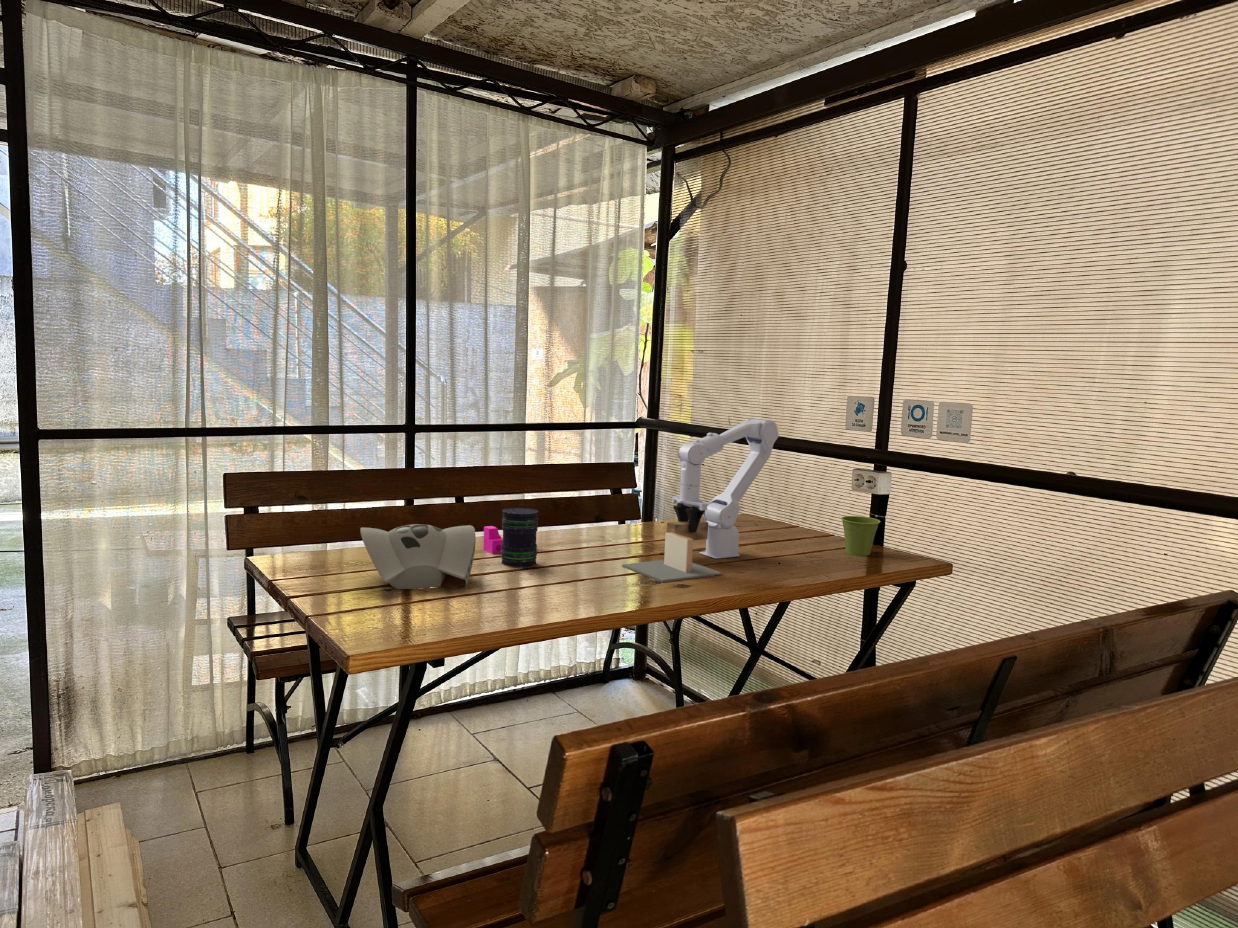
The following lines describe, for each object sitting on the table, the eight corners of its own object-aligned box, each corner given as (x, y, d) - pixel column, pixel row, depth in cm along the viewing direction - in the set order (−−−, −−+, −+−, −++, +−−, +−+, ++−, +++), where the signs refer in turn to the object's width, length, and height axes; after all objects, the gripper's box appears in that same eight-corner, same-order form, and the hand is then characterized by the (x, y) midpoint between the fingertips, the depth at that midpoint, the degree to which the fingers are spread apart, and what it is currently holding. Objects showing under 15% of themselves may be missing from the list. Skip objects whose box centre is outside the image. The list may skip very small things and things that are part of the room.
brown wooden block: (699, 536, 256) (700, 520, 256) (707, 539, 253) (708, 522, 252) (666, 539, 250) (667, 522, 249) (674, 542, 247) (675, 524, 246)
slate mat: (680, 560, 250) (680, 558, 250) (721, 574, 234) (721, 572, 234) (622, 566, 239) (622, 564, 239) (662, 582, 223) (662, 580, 223)
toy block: (492, 556, 246) (492, 530, 245) (483, 551, 251) (483, 526, 251) (538, 551, 254) (539, 526, 253) (529, 547, 259) (530, 523, 259)
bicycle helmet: (463, 557, 232) (468, 505, 226) (481, 608, 210) (487, 553, 204) (354, 561, 222) (357, 506, 216) (362, 615, 200) (365, 556, 194)
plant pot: (835, 556, 264) (838, 520, 263) (841, 549, 275) (843, 514, 274) (875, 560, 260) (878, 524, 258) (879, 553, 271) (882, 518, 269)
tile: (669, 563, 242) (671, 532, 241) (691, 571, 234) (693, 539, 233) (664, 564, 241) (665, 532, 240) (685, 572, 233) (687, 539, 232)
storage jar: (544, 564, 237) (545, 511, 236) (516, 569, 230) (518, 515, 229) (520, 558, 244) (522, 506, 242) (493, 563, 237) (494, 509, 235)
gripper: (664, 481, 254) (662, 527, 255) (694, 488, 241) (691, 536, 243) (683, 481, 257) (681, 525, 259) (714, 487, 245) (711, 534, 247)
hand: (687, 530), depth 251 cm, fingers closed on brown wooden block, 4 cm apart
